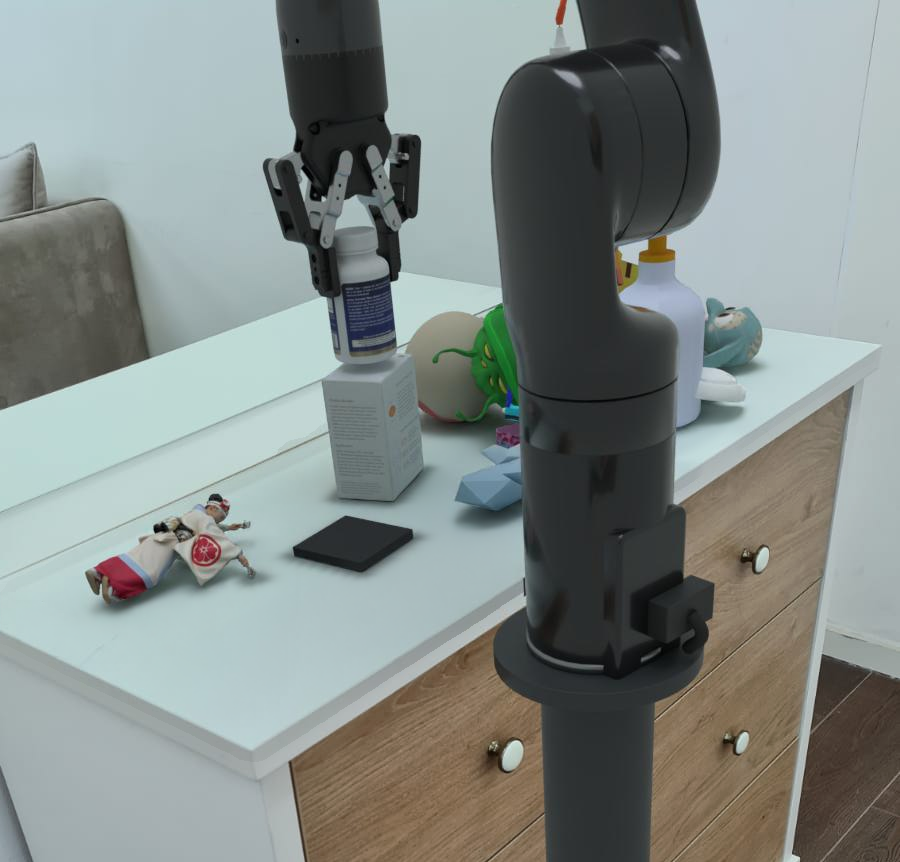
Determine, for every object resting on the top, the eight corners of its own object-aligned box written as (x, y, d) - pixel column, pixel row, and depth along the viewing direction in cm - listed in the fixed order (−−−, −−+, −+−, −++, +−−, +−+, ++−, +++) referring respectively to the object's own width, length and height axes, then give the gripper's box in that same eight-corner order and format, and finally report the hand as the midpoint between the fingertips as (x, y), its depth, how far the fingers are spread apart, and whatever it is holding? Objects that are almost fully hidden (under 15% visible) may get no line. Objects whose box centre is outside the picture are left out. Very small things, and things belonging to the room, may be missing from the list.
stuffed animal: (659, 296, 130) (768, 276, 124) (669, 361, 133) (776, 346, 127) (630, 322, 122) (744, 303, 116) (641, 391, 126) (753, 376, 120)
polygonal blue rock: (533, 497, 107) (533, 436, 105) (595, 503, 102) (597, 439, 100) (431, 513, 98) (429, 447, 96) (494, 520, 93) (494, 451, 91)
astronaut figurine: (701, 391, 122) (707, 360, 121) (759, 405, 112) (766, 371, 110) (625, 384, 120) (629, 353, 118) (677, 398, 109) (682, 363, 108)
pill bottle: (410, 350, 100) (398, 225, 94) (373, 368, 96) (358, 239, 90) (360, 344, 102) (345, 222, 97) (322, 362, 99) (304, 236, 93)
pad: (413, 538, 96) (412, 528, 95) (362, 572, 91) (360, 562, 91) (346, 523, 99) (345, 514, 99) (293, 556, 95) (292, 547, 94)
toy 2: (468, 258, 112) (423, 312, 121) (413, 344, 108) (370, 392, 117) (547, 329, 115) (497, 375, 124) (496, 414, 111) (448, 456, 120)
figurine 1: (152, 639, 86) (299, 545, 94) (79, 554, 86) (232, 467, 94) (140, 673, 92) (280, 581, 99) (72, 593, 92) (217, 507, 99)
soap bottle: (587, 422, 114) (585, 136, 100) (643, 396, 119) (649, 120, 105) (662, 439, 109) (672, 140, 95) (718, 411, 114) (735, 123, 100)
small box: (370, 466, 110) (356, 350, 104) (425, 469, 108) (415, 352, 102) (335, 499, 104) (318, 378, 98) (394, 503, 102) (380, 380, 96)
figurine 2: (413, 325, 107) (478, 264, 99) (526, 303, 116) (594, 245, 107) (470, 454, 108) (538, 404, 100) (577, 423, 117) (648, 374, 108)
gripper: (279, 56, 80) (315, 315, 90) (438, 33, 87) (455, 275, 97) (221, 55, 85) (261, 302, 95) (376, 34, 92) (398, 265, 102)
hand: (359, 287), depth 96 cm, fingers closed on pill bottle, 5 cm apart
